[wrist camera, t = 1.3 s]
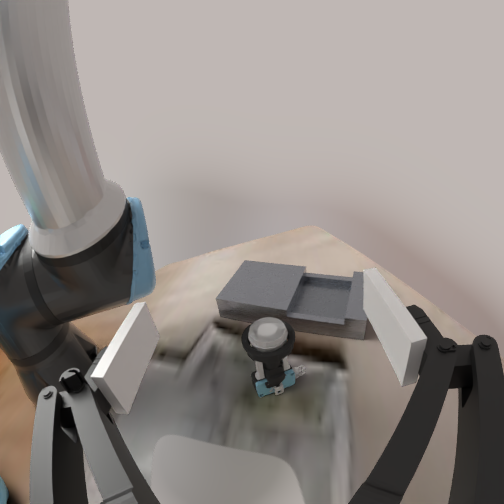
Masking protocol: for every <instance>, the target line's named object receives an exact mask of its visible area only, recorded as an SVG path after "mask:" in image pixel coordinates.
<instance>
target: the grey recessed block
mask: <svg viewBox="0 0 504 504" xmlns="http://www.w3.org/2000/svg"><path fill="white" fill-rule="evenodd" d="M363 296H364V272H354V274H353V278H351V277H342V276H332V275H322V274H313V273H306V267H304V266H294V265H284V264H274V263H265V262H255V261H246V260H245V261H244V262H243V264H242V265H241V266H240V268H239V269H238V270H237V271H236V273H235V274H234V275H233V277H232V278H231V279H230V281H229V282H228V283H227V284H226V286H225V287H224V288H223V290H222V291H221V292H220V294H219V295H218V296H217V298H216V301H217V305H218V309H219V313H220V316H221V317H225V318H230V319H235V320H240V321H245V322H250V323H254V322H255V321H257V320H259V319H261V318H266V317H272V318H277V319H280V320H283V321H285V322H287V323H288V324H290V325H291V326H292V328H293V329H294V330H296V331H302V332H309V333H315V334H322V335H329V336H336V337H344V338H351V339H360V340H364V335H365V329H366V323H367V315H366V313H365V311H364V310H363Z"/></svg>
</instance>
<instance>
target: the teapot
mask: <svg viewBox="0 0 504 504" xmlns="http://www.w3.org/2000/svg"><path fill="white" fill-rule="evenodd" d="M8 497H9V491H8V489H7V487H6V485H5V483H4V481H3V479H2V478H1V476H0V504H7V499H8Z"/></svg>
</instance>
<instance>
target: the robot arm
mask: <svg viewBox="0 0 504 504" xmlns="http://www.w3.org/2000/svg"><path fill="white" fill-rule="evenodd" d="M69 17H70V16H69V6H68V0H0V152H1V154H2V157H3V159H4V162H5V164H6V167H7V169H8V171H9V173H10V176H11V178H12V180H13V182H14V184H15V187H16V189H17V191H18V193H19V195H20V197H21V199H22V201H23V203H24V205H25V207H26V209H27V211H28V213H29V215H30V216H31V218H32V222H31V225H30V229H29V234H28V230H27V229H26V227H25V226H24V225H22V224H19V225H18V226H14V227H13V228H11V229H9V230H7V231H6V232H4V233H3V234H2V235H0V347H1V349H2V350H3V351H4V353H5V354H6V355H7V357H8V358H9V359H10V361H11V362H12V363H13V365H14V366H15V369H16V371H17V374H18V376H19V379H20V381H21V383H22V385H23V388H24V390H25V392H26V394H27V396H28V397H29V399H30V400H31V401H32V402H33V403H34V404H35V405H36V406H37V408H36V414H35V421H34V429H33V438H32V448H31V462H30V504H88V498H87V490H86V482H85V473H84V461H83V449H84V452H85V455H86V458H87V461H88V464H89V466H90V469H91V471H92V474H93V477H94V479H95V481H96V484H97V486H98V489H99V491H100V493H101V495H102V498H103V502H101V503H100V504H160V503H159V501H158V500H157V498H156V496H155V495H154V493H153V492H152V490H151V489H150V487H149V485H148V484H147V482H146V480H145V479H144V477H143V475H142V474H141V472H140V470H139V469H138V467H137V465H136V463H135V461H134V460H133V458H132V456H131V454H130V452H129V450H128V448H127V446H126V445H125V443H124V441H123V439H122V437H121V434H120V432H119V430H118V428H117V426H116V424H115V422H114V420H113V417H112V415H111V414H110V413H109V410H110V408H111V407H112V408H113V410H114V411H115V412H116V413H117V414H127V415H128V414H129V412H130V409H131V407H132V404H133V401H134V399H135V396H136V394H137V391H138V389H139V386H140V384H141V381H142V379H143V376H144V374H145V371H146V369H147V367H148V364H149V362H150V359H151V357H152V355H153V352H154V350H155V348H156V345H157V343H158V340H159V338H160V336H159V333H158V331H157V329H156V326H155V324H154V322H153V319H152V317H151V314H150V312H149V309H148V307H147V304H146V302H142V303H135V304H134V306H133V307H132V309H131V311H130V312H129V314H128V315H127V317H126V318H125V320H124V322H123V323H122V325H121V326H120V328H119V330H118V331H117V333H116V334H115V336H114V338H113V339H112V341H111V343H110V344H109V346H108V347H104V348H103V349H102V350H101V351H100V350H99V348H98V347H97V345H96V344H95V343H94V342H93V341H92V340H91V339H90V338H89V337H88V336H87V335H85V334H84V333H83V332H82V331H81V330H79V329H78V328H77V327H76V326H75V325H74V324H72V323H71V322H70V321H73V320H76V319H80V318H83V317H87V316H90V315H93V314H97V313H100V312H103V311H106V310H110V309H113V308H116V307H120V306H123V305H129V304H131V303H132V302H133V301H135V300H137V299H140V298H142V297H145V296H147V295H149V294H151V293H152V292H153V290H154V288H155V285H156V276H155V269H154V263H153V258H152V252H151V248H150V245H149V238H148V231H147V227H146V221H145V216H144V212H143V208H142V204H141V201H140V200H139V199H138V198H130V197H128V198H127V199H126V197H125V194H124V191H123V190H122V188H121V187H120V185H118V184H117V183H115V182H113V181H110V180H107V179H104V175H103V172H102V169H101V166H100V162H99V159H98V156H97V152H96V149H95V145H94V142H93V138H92V134H91V130H90V126H89V122H88V118H87V114H86V110H85V106H84V101H83V97H82V93H81V87H80V82H79V78H78V72H77V67H76V61H75V55H74V48H73V41H72V34H71V26H70V18H69ZM363 272H364V296H363V310H364V311H365V313H366V315H367V317H368V319H369V321H370V323H371V325H372V327H373V329H374V331H375V333H376V335H377V337H378V339H379V341H380V343H381V345H382V347H383V349H384V351H385V353H386V355H387V357H388V359H389V361H390V363H391V365H392V367H393V369H394V371H395V373H396V376H397V378H398V380H399V382H400V384H401V386H402V387H403V386H406V385H409V384H412V383H415V382H416V381H417V378H418V374H419V375H420V377H419V380H418V382H417V385H416V387H415V389H414V392H413V394H412V396H411V399H410V401H409V403H408V405H407V407H406V409H405V412H404V414H403V416H402V418H401V420H400V422H399V424H398V426H397V428H396V430H395V432H394V434H393V435H392V437H391V439H390V441H389V443H388V445H387V447H386V448H385V450H384V452H383V454H382V455H381V457H380V459H379V460H378V462H377V464H376V465H375V467H374V469H373V470H372V472H371V473H370V475H369V477H368V478H367V480H366V481H365V482H364V483H363V484H362V485H361V487H360V488H359V489H358V491H357V492H356V493H355V495H354V496H353V498H352V499H351V500H350V502H349V503H348V504H400V502H401V500H402V498H403V495H404V493H405V491H406V489H407V487H408V485H409V483H410V481H411V480H412V478H413V476H414V474H415V472H416V470H417V468H418V465H419V463H420V461H421V459H422V457H423V455H424V452H425V450H426V448H427V446H428V443H429V441H430V438H431V436H432V434H433V431H434V428H435V426H436V423H437V421H438V418H439V415H440V412H441V409H442V406H443V403H444V400H445V397H446V394H447V391H448V389H453V388H458V393H459V407H458V434H457V447H456V458H455V466H454V474H453V480H452V487H451V492H450V498H449V503H448V504H504V374H503V369H502V363H501V358H500V354H499V349H498V345H497V342H496V340H495V339H494V338H492V337H490V336H488V335H479V336H477V337H475V339H474V340H473V343H472V344H471V345H457V343H456V342H455V341H453V340H452V339H449V338H443V336H442V335H441V333H440V332H439V331H438V329H437V328H436V327H435V325H434V324H433V323H432V321H431V320H430V319H429V318H428V317H427V315H426V314H425V312H424V311H423V310H422V309H421V308H419V307H417V306H416V305H412V306H408V307H405V306H404V304H403V303H402V302H401V300H400V299H399V297H398V296H397V295H396V293H395V292H394V291H393V289H392V288H391V287H390V286H389V284H388V283H387V282H386V280H385V279H384V278H383V276H382V275H381V274H380V273H379V271H378V270H377V269H376V267H375V268H370V269H365V270H363Z"/></svg>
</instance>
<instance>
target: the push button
mask: <svg viewBox="0 0 504 504" xmlns="http://www.w3.org/2000/svg"><path fill="white" fill-rule="evenodd" d="M286 339H288V341H286ZM294 342H295V332H294V329H293V328H292V326H291V325H290V324H288V323H287V322H285V321H283V320H280V319H277V318H272V317H266V318H261V319H259V320H257V321H255V322H254V323H252V324H251V325H249V326H248V327H247V328H246V329H245V330H244V332H243V334H242V345H243V347H244V349H245V350H246V352H247V353H248V356H249V357H250V358H251V359H252V360H254V361H255V365H256V370H257V371H255V372H252V373H251V377H252V381H253V385H254V387H255V389H256V391H257V393H258V396H259V397H263V396H265V395H268V394H271V393H273V392H275V395H279V394H281V393H283V392H284V388H286V387H289V386H292V385H294V384H295V379H296V378H298V377H299V376H301V375H303V374H305V371H304V370H305V369H306V368H305V367H304V365H300V366H298V367H293V368H292V367H291V366H290V364H289V362H288V355H289V354H290V353H291V351H292V349H293V344H294ZM250 343H251V344H252V347H251V346H250ZM300 367H302V369H299V368H300ZM299 372H302V374H300V373H299ZM280 390H281V392H279V393H278V391H280Z"/></svg>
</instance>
